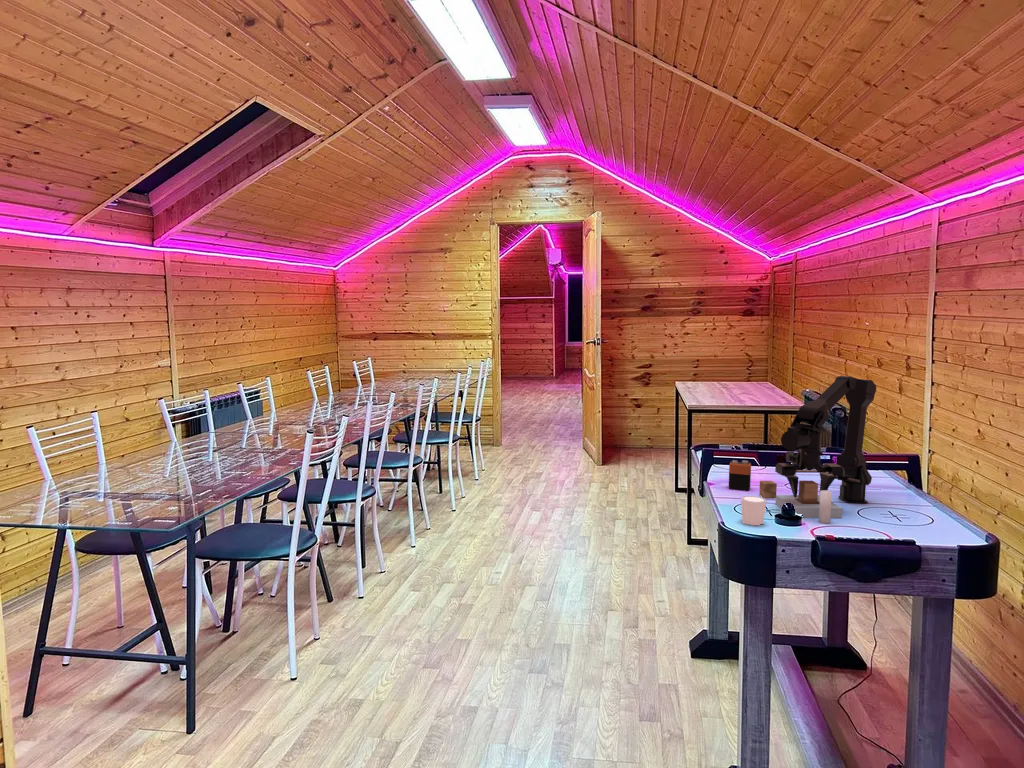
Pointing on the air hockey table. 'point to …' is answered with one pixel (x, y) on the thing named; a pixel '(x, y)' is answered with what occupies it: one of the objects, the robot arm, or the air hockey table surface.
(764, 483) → the short brown block
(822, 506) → the gauge block
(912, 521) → the air hockey table surface
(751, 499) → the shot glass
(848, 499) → the robot arm
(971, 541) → the air hockey table surface
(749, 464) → the battery
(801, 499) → the brown rectangular block
